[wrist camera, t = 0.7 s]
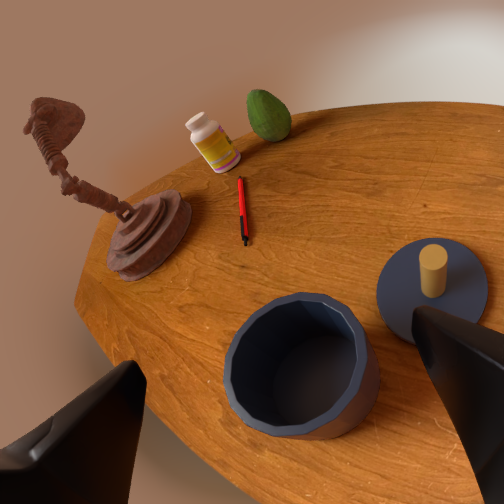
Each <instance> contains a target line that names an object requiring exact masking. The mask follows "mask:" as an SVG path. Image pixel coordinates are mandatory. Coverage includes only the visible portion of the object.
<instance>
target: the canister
mask: <svg viewBox="0 0 504 504" xmlns="http://www.w3.org/2000/svg"><path fill="white" fill-rule="evenodd" d="M223 382H224V383H223V384H224V387H225V391H226V394H227V397H228V401H229V404H230V407H231V408H232V409H233V410H234V411H235V413H236V414H237V415H238V416H239V417H240V418H241V419H242V420H243V422H244V423H245V424H246V425H247V426H249V427H251V428H254V429H256V430H258V431H261V432H263V433H266V434H268V435H271V436H274V437H282V438H289V439H298V440H308V441H313V440H325V439H332V438H336V437H338V436H340V435H343V434H345V433H347V432H348V431H350V430H352V429H353V428H355V427H356V426H357V425H358V424H359V423H361V422H362V420H363V419H364V418H365V417H366V416H367V415H368V413H369V412H370V410H371V409H372V407H373V405H374V403H375V401H376V398H377V396H378V392H379V387H380V371H379V366H378V360H377V357H376V355H375V353H374V351H373V348H372V346H371V344H370V342H369V339H368V337H367V335H366V333H365V331H364V328H363V327H362V325H361V324H360V323H359V321H358V320H357V318H356V317H355V315H354V314H353V313H352V311H351V310H350V308H349V307H348V306H346V305H344V304H343V303H341V302H339V301H337V300H335V299H333V298H332V297H330V296H328V295H326V294H318V293H306V292H298V293H295V294H291V295H288V296H284V297H280V298H277V299H274V300H273V301H271V302H270V303H268V304H267V305H265V306H263V307H262V308H260V309H259V310H257V311H256V312H254V313H253V314H252V315H251V316H250V317H249V318H248V320H247V321H246V322H245V323H244V324H243V325H242V327H241V328H240V329H239V330H238V331H237V332H236V334H235V336H234V338H233V340H232V343H231V345H230V347H229V349H228V352H227V354H226V356H225V364H224V376H223Z"/></svg>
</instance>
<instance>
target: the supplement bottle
mask: <svg viewBox="0 0 504 504" xmlns="http://www.w3.org/2000/svg"><path fill="white" fill-rule="evenodd" d="M185 126H186V127H187V128H188V129H189V130H191V132H192V134H191V141H192V143H193V144H194V145H195V146H196V148H197V149H198V150H199V152H200V153H201V154H202V155H203V157H204V158H205V159H206V161H207V162H208V163H209V165H210V166H211V167H212V168H213V170H214V171H215V172H216V173H224V172H226V171H228V170H230V169H231V168H233V167H234V166H235V165H236V164H237V163H238V162H239V160H240V158H241V155H240V153H239V151H238V150H237V149H236V147H235V146H234V144H233V143H232V141H231V140H230V139H229V137H228V136H227V135H226V133H225V132H224V130H223V129H222V127H221V126H220V125H219V123H218V122H217V121H215V120H209V119H208V117H207V115H206V113H205V112H201V113H199V114H197V115H195V116H194V117H192V118H191V119H190V120H189V121H188V122H187V123H186V124H185Z"/></svg>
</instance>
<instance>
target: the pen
mask: <svg viewBox="0 0 504 504" xmlns="http://www.w3.org/2000/svg"><path fill="white" fill-rule="evenodd" d="M238 190H239V205H240V223H241V236H242V240H243V241H244V246H247V240H248V229H247V219H246V209H245V199H244V189H243V180H242V178H241V176H239V178H238Z"/></svg>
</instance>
